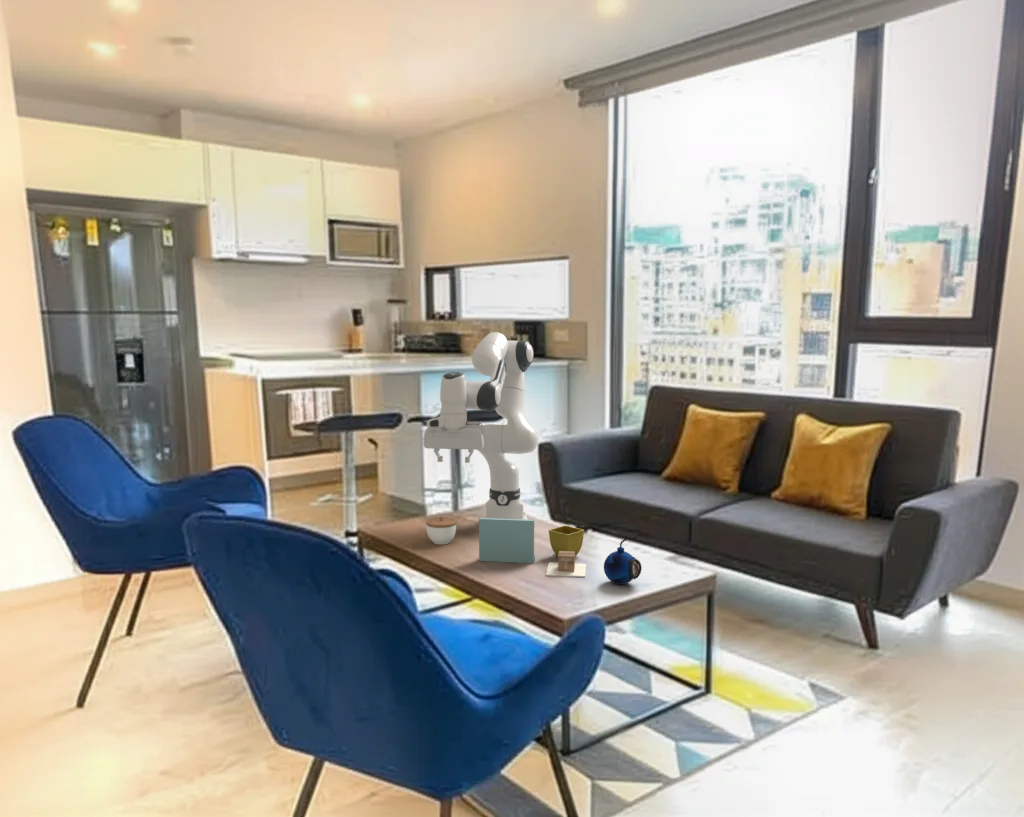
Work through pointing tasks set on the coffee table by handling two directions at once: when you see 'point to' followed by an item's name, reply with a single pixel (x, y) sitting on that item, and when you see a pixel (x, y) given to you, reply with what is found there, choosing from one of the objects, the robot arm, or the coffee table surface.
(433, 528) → the lidded jar
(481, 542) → the screen
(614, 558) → the bomb
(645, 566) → the coffee table surface
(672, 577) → the coffee table surface
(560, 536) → the flower pot
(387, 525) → the coffee table surface
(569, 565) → the brown block
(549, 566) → the pad
